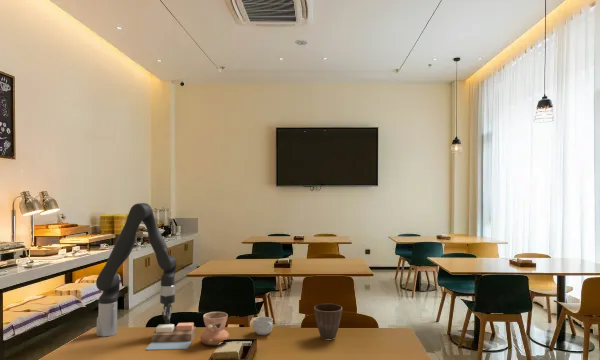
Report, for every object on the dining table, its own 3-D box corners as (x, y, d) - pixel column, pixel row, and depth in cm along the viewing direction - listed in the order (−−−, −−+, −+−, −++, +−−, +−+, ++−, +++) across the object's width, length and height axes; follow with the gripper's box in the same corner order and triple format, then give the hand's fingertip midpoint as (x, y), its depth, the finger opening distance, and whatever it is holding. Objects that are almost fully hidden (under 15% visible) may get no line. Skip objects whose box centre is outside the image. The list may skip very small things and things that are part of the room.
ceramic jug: (222, 349, 197) (223, 320, 198) (194, 347, 199) (195, 318, 200) (234, 337, 215) (235, 310, 216) (208, 336, 217) (209, 309, 218)
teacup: (250, 331, 223) (250, 317, 224) (268, 329, 228) (269, 314, 228) (258, 339, 211) (258, 324, 211) (278, 336, 215) (278, 321, 216)
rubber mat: (145, 350, 196) (145, 349, 196) (151, 343, 206) (151, 342, 206) (187, 349, 198) (187, 348, 198) (191, 342, 207) (191, 341, 207)
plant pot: (347, 340, 210) (347, 309, 210) (321, 344, 204) (321, 312, 205) (334, 331, 223) (334, 302, 224) (309, 335, 218) (309, 305, 219)
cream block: (156, 332, 210) (156, 327, 210) (158, 329, 215) (158, 324, 215) (171, 332, 211) (171, 327, 211) (174, 328, 216) (174, 324, 216)
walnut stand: (151, 343, 206) (151, 335, 206) (158, 334, 218) (158, 327, 218) (191, 342, 208) (191, 334, 208) (195, 334, 219) (195, 326, 220)
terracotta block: (176, 330, 213) (176, 325, 213) (178, 327, 218) (178, 322, 218) (191, 330, 214) (191, 325, 214) (193, 327, 219) (193, 322, 219)
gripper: (163, 290, 224) (163, 322, 223) (157, 296, 211) (156, 330, 210) (177, 290, 225) (177, 322, 224) (171, 296, 211) (171, 330, 211)
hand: (167, 326), depth 217 cm, fingers closed
